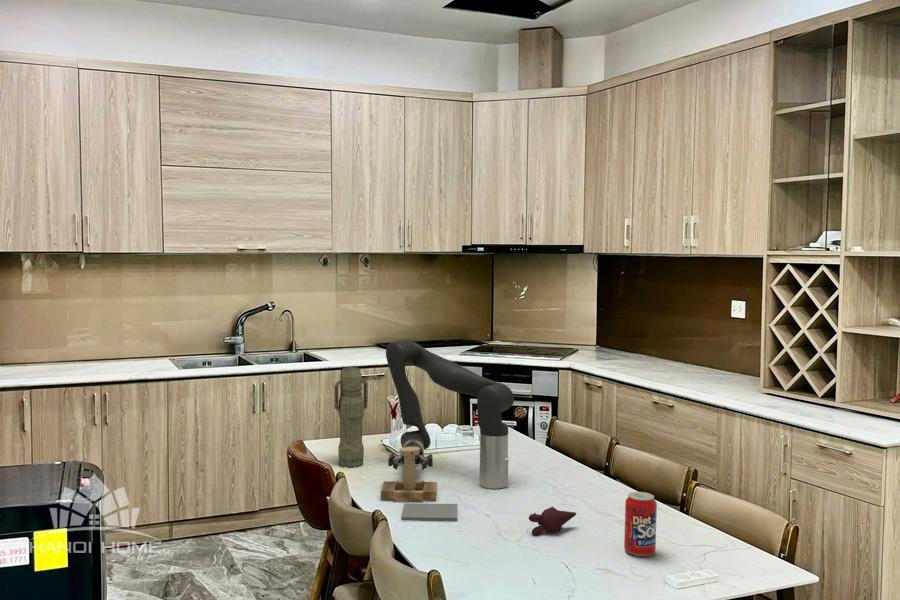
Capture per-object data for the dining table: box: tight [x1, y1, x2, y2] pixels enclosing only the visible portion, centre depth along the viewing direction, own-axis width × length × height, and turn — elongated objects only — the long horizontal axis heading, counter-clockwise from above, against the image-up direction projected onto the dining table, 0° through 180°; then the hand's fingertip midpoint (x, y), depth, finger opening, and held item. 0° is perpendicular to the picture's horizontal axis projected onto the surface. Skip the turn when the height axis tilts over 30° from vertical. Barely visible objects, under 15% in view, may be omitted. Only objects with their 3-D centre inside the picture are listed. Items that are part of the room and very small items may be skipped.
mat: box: [400, 502, 458, 522], centre depth 226 cm, size 16×12×1 cm
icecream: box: [528, 506, 577, 536], centre depth 213 cm, size 7×7×15 cm
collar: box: [380, 480, 438, 503], centre depth 242 cm, size 17×12×3 cm
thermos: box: [333, 366, 369, 469], centre depth 275 cm, size 9×12×35 cm
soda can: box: [623, 491, 658, 557], centre depth 198 cm, size 8×8×15 cm
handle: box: [398, 447, 420, 491], centre depth 241 cm, size 5×6×15 cm
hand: (409, 466), depth 242 cm, fingers open, 8 cm apart
